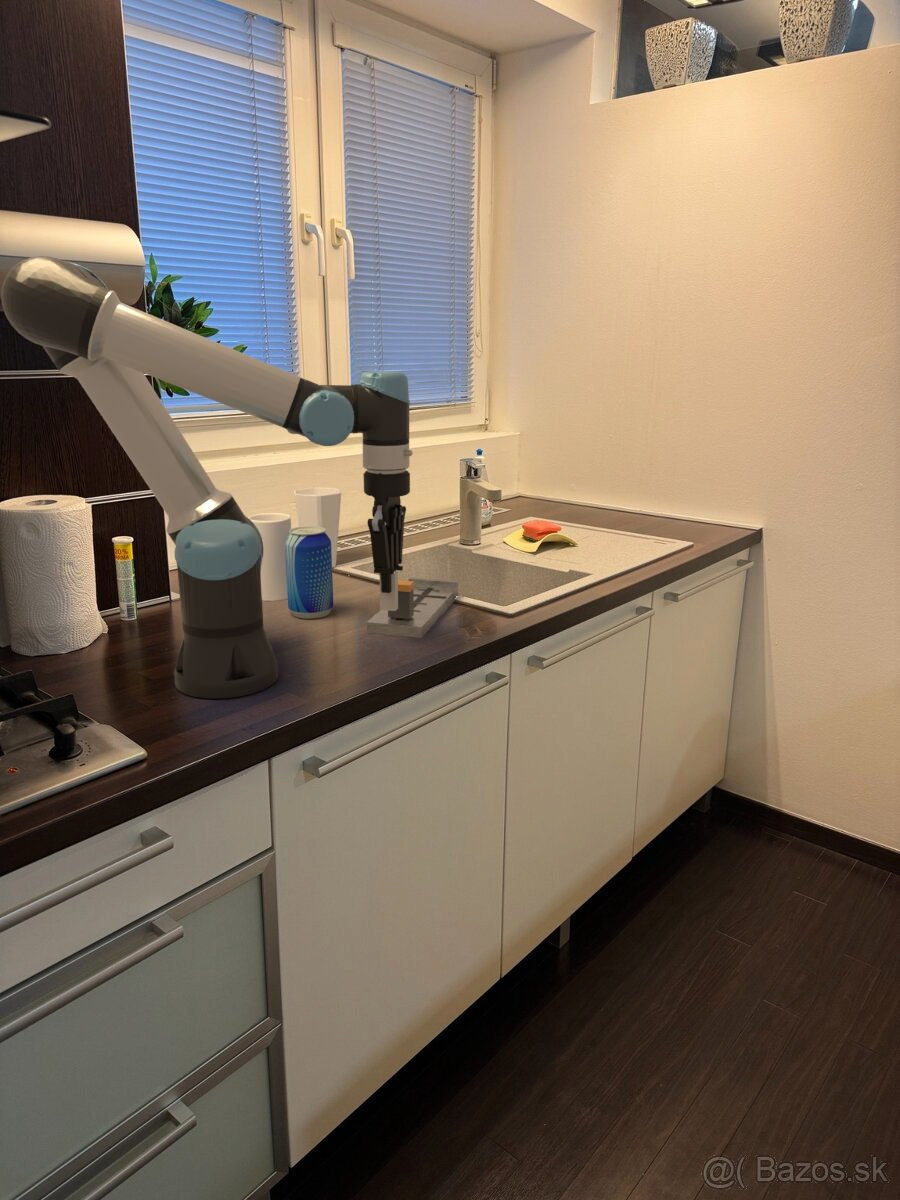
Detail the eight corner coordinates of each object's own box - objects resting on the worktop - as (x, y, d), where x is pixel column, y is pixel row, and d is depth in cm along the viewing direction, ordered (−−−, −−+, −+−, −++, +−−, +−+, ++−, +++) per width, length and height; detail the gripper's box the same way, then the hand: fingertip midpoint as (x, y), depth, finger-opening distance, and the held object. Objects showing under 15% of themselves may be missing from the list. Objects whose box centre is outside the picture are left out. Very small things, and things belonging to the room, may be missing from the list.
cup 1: (285, 602, 169) (281, 522, 164) (246, 599, 171) (240, 520, 166) (300, 590, 177) (296, 513, 172) (262, 588, 178) (258, 511, 174)
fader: (410, 619, 152) (409, 585, 150) (387, 617, 153) (386, 583, 151) (414, 614, 154) (414, 581, 153) (391, 613, 155) (391, 579, 154)
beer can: (316, 603, 168) (312, 523, 164) (342, 613, 162) (340, 530, 158) (279, 612, 163) (275, 529, 158) (305, 623, 157) (301, 537, 152)
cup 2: (311, 574, 189) (308, 497, 184) (287, 565, 196) (283, 490, 191) (353, 566, 196) (351, 491, 191) (328, 557, 203) (325, 485, 198)
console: (421, 638, 149) (421, 620, 148) (367, 632, 152) (366, 615, 151) (458, 596, 173) (458, 581, 173) (410, 592, 176) (410, 577, 175)
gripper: (396, 477, 133) (398, 622, 140) (420, 465, 145) (421, 600, 152) (350, 475, 134) (354, 618, 141) (378, 463, 147) (380, 596, 153)
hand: (389, 609), depth 146 cm, fingers closed
